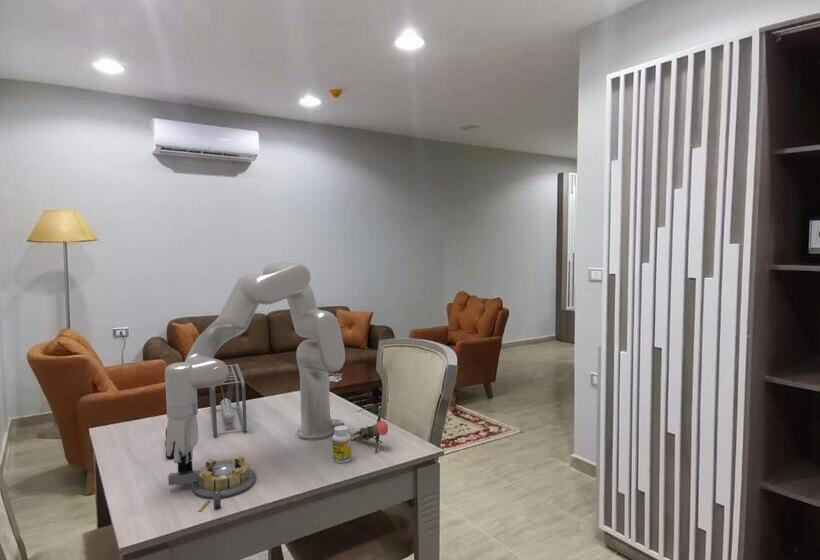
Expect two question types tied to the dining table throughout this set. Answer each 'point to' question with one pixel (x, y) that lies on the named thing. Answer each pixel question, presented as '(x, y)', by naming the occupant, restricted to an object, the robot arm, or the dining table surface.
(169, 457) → the hand tool
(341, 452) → the supplement bottle
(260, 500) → the dining table surface
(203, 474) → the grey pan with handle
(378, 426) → the green toy propeller plane
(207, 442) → the dining table surface
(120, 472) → the dining table surface
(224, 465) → the housing
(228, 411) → the newton's cradle
